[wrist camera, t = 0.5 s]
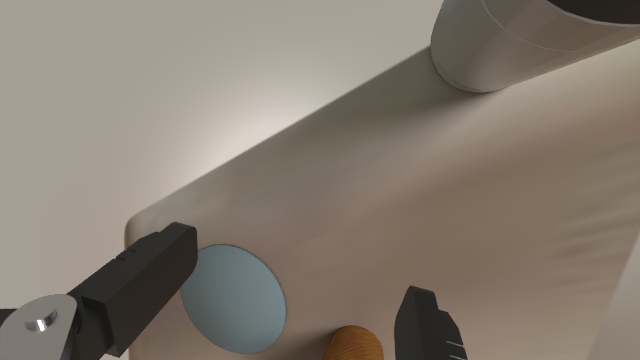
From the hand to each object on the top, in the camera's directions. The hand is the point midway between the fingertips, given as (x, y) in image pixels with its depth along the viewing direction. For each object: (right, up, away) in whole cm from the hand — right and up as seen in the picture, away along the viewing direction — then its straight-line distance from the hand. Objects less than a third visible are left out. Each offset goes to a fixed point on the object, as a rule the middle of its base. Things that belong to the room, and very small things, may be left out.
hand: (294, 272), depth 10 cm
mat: (-11, -13, +27) cm, 32 cm away
